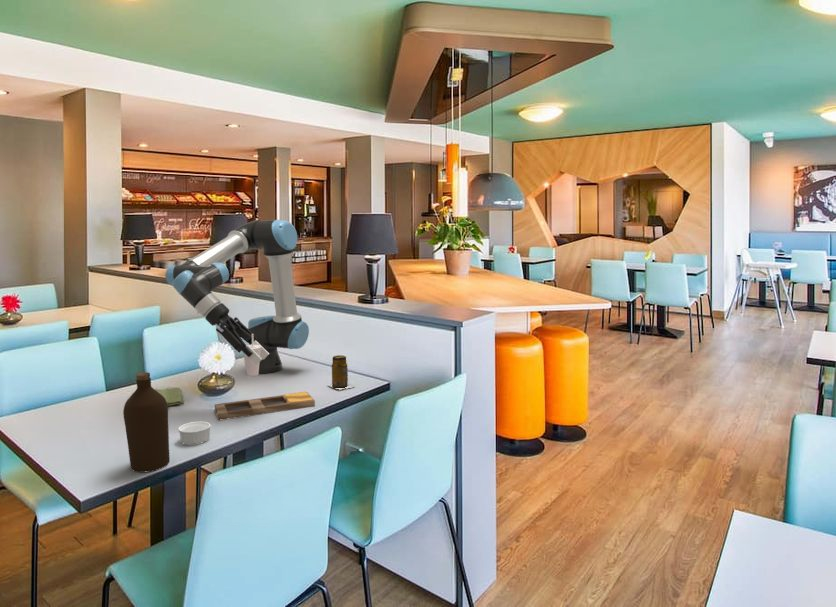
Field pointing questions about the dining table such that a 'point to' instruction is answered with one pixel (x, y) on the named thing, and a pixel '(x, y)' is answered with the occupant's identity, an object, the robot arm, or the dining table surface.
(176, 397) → the washcloth
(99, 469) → the dining table surface
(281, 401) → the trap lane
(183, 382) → the dining table surface
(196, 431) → the ramekin
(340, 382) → the condiment
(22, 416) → the dining table surface
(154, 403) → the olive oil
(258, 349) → the smoothie
